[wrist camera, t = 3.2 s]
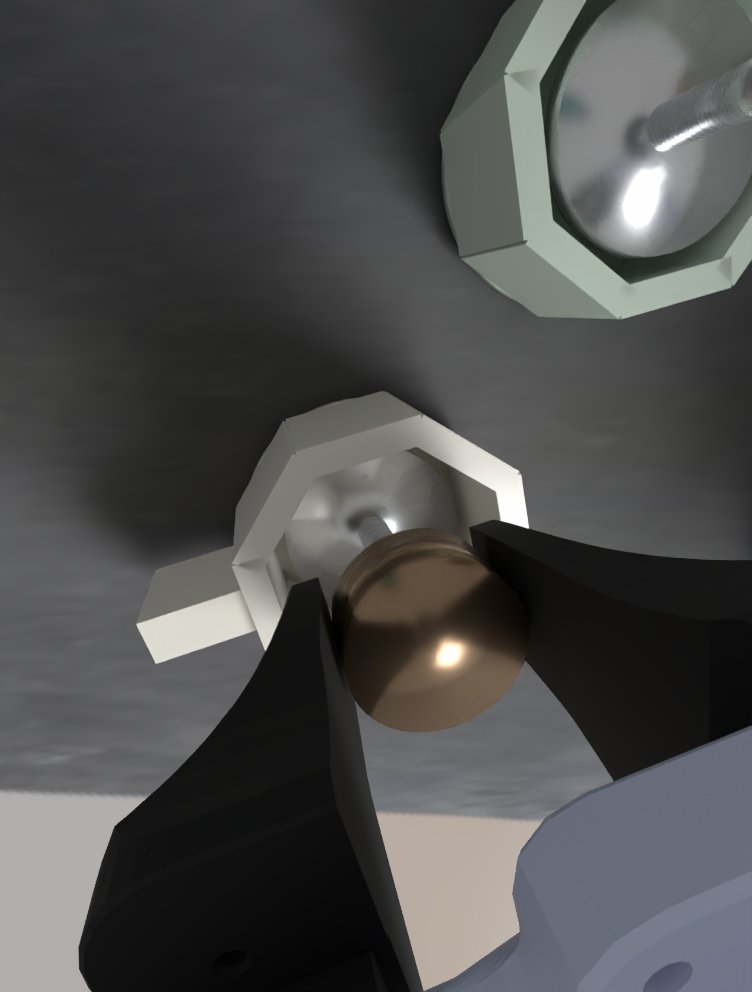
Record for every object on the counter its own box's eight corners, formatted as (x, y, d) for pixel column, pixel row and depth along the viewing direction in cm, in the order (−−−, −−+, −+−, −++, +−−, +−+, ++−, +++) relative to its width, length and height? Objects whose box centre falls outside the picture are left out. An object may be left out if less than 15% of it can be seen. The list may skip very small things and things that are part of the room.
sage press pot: (678, 275, 17) (808, 265, 13) (466, 335, 16) (536, 343, 12) (670, -147, 13) (850, -341, 9) (393, -99, 12) (459, -290, 8)
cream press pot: (446, 368, 16) (508, 388, 12) (483, 570, 19) (544, 639, 15) (119, 463, 15) (73, 517, 11) (210, 663, 17) (199, 764, 14)
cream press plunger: (430, 420, 15) (547, 494, 9) (461, 568, 17) (574, 707, 11) (261, 471, 15) (269, 584, 9) (312, 618, 16) (347, 794, 10)
